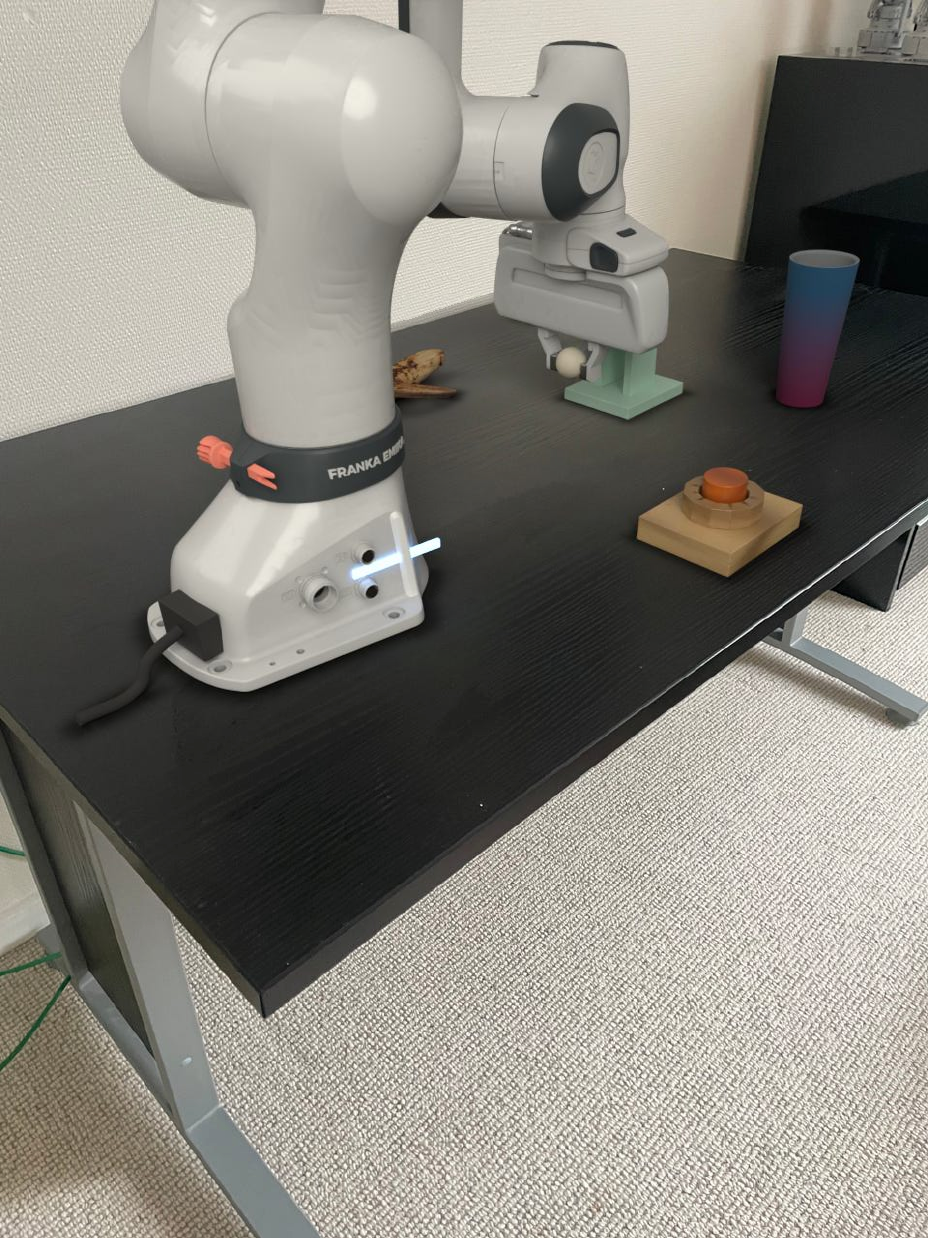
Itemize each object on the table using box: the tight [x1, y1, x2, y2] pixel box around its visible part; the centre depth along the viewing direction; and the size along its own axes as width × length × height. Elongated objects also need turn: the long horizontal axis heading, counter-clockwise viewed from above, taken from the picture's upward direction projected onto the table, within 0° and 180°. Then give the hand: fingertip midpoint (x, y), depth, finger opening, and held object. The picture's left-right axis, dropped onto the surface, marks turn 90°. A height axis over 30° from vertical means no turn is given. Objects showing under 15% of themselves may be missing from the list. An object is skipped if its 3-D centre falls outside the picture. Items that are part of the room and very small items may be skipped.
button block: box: [636, 475, 804, 578], centre depth 80 cm, size 11×9×4 cm
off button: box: [702, 466, 749, 504], centre depth 79 cm, size 4×4×2 cm
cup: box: [775, 249, 861, 408], centre depth 100 cm, size 7×7×15 cm
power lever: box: [556, 340, 593, 380], centre depth 100 cm, size 13×3×3 cm, turn 134°
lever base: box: [564, 347, 684, 421], centre depth 104 cm, size 10×9×12 cm
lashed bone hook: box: [392, 348, 458, 400], centre depth 107 cm, size 9×5×18 cm
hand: (573, 374), depth 99 cm, fingers closed on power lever, 3 cm apart
